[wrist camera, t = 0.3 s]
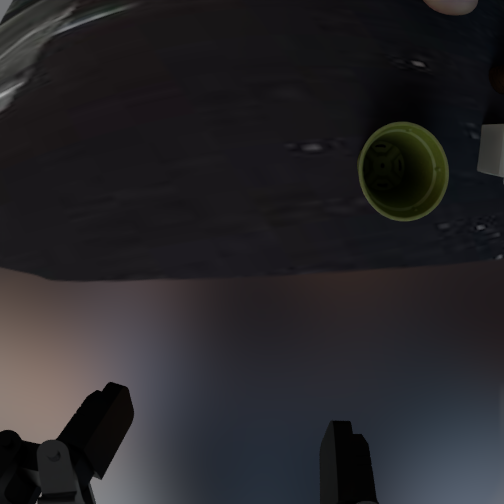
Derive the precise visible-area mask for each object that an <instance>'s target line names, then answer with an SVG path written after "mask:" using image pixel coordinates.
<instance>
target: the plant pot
mask: <svg viewBox="0 0 504 504" xmlns="http://www.w3.org/2000/svg"><path fill="white" fill-rule="evenodd" d="M379 144H383V145H385V146H386V147H385V148H383V147H375V146H376V145H379ZM398 160H400V161H401V170H400V171H399V161H398ZM382 163H383V164H384V168H382V167H381V164H382ZM363 164H364V169H365V171H364V172H363ZM357 168H358V172H359V180H360V185H361V188H362V190H363V193H364V195H365V197H366V198H367V200H368V201H369V203H370V204H371V205H372V206H373V207H374V208H375V209H376V210H377V211H378V212H379V213H380V214H382V215H384V216H385V217H387V218H390V219H393V220H397V221H412V220H416V219H419V218H421V217H423V216H425V215H427V214H428V213H430V212H431V211H432V210H433V209H434V208H435V207H436V206H437V205H438V204H439V203H440V201H441V200H442V198H443V196H444V194H445V191H446V188H447V184H448V178H449V170H448V162H447V158H446V155H445V152H444V150H443V148H442V146H441V145H440V143H439V142H438V140H437V139H436V138H435V137H434V136H433V135H432V134H431V133H430V132H429V131H428V130H427V129H425V128H423V127H421V126H419V125H417V124H414V123H410V122H394V123H390V124H388V125H385V126H383V127H381V128H380V129H378V130H377V131H376V132H374V133H373V134H372V135H371V136H370V138H369V139H368V140H367V142H366V143H365V145H364V147H363V149H362V150H361V152H360V154H359V157H358V161H357ZM386 183H387V184H388V185H387V186H386V187H379V186H378V185H377V184H386Z"/></svg>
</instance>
